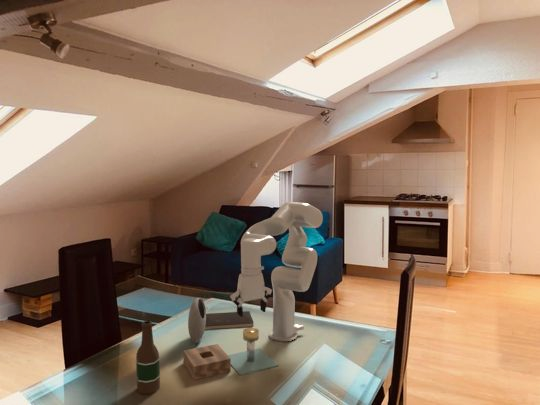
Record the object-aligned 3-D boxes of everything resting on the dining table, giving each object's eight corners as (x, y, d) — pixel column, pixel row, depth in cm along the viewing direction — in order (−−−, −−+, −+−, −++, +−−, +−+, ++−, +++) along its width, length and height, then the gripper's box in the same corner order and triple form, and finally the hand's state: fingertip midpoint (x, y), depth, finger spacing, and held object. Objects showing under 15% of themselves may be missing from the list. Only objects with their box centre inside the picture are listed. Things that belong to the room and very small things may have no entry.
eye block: (217, 355, 175) (217, 343, 175) (230, 371, 163) (230, 358, 162) (183, 363, 169) (183, 350, 169) (194, 379, 157) (194, 366, 156)
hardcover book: (253, 327, 206) (253, 322, 205) (204, 330, 201) (204, 325, 201) (249, 315, 221) (249, 310, 221) (203, 317, 217) (203, 313, 217)
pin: (254, 355, 175) (254, 326, 174) (260, 361, 170) (261, 332, 168) (240, 358, 172) (240, 329, 171) (246, 365, 167) (247, 335, 166)
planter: (202, 350, 180) (202, 306, 178) (185, 350, 180) (184, 306, 178) (208, 332, 198) (208, 292, 196) (192, 332, 198) (192, 292, 196)
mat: (260, 349, 182) (260, 348, 182) (278, 365, 168) (278, 364, 168) (224, 356, 175) (224, 355, 175) (239, 375, 160) (239, 374, 160)
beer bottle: (139, 383, 154) (137, 318, 151) (161, 382, 155) (160, 317, 152) (134, 395, 146) (132, 326, 143) (158, 394, 147) (156, 326, 144)
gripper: (266, 265, 174) (267, 306, 177) (226, 271, 166) (227, 314, 169) (275, 270, 168) (275, 312, 170) (233, 276, 160) (234, 321, 162)
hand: (251, 313), depth 170 cm, fingers open, 9 cm apart
